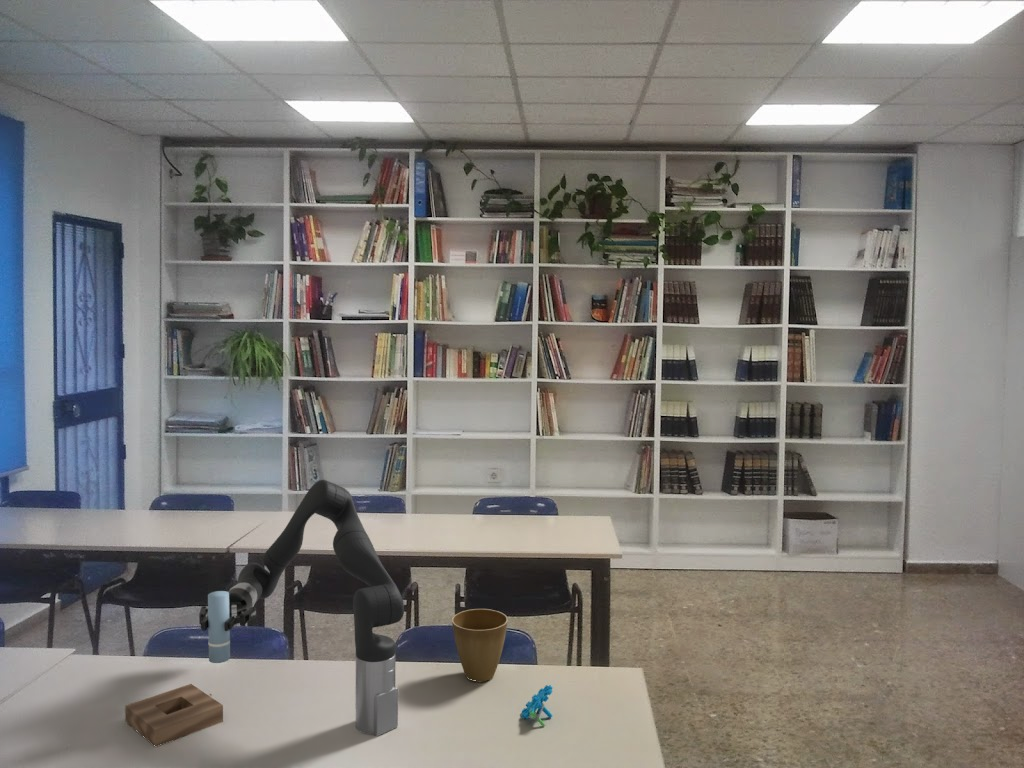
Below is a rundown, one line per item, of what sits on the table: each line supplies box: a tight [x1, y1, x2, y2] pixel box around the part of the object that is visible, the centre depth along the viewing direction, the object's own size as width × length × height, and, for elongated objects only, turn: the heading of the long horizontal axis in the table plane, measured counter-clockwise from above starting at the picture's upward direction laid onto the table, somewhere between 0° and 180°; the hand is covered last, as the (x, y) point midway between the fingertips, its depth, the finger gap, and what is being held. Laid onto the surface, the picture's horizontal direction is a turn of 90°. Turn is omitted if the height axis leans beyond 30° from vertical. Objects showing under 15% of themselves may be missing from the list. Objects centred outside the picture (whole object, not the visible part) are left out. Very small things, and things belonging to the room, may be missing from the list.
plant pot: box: [451, 608, 508, 682], centre depth 217 cm, size 15×15×16 cm
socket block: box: [124, 683, 224, 747], centre depth 191 cm, size 16×16×4 cm
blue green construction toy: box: [520, 684, 554, 728], centre depth 195 cm, size 11×6×10 cm
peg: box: [207, 590, 231, 664], centre depth 195 cm, size 5×5×16 cm
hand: (215, 626), depth 192 cm, fingers closed on peg, 4 cm apart
